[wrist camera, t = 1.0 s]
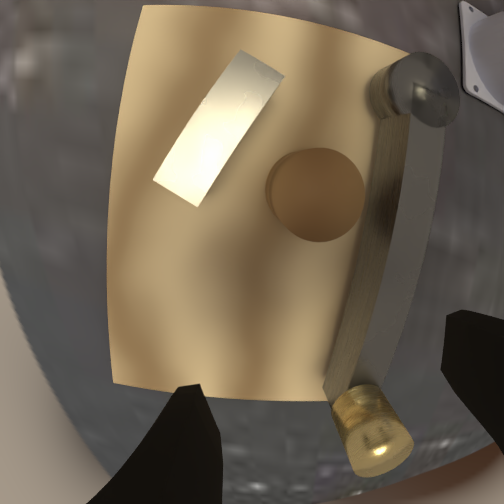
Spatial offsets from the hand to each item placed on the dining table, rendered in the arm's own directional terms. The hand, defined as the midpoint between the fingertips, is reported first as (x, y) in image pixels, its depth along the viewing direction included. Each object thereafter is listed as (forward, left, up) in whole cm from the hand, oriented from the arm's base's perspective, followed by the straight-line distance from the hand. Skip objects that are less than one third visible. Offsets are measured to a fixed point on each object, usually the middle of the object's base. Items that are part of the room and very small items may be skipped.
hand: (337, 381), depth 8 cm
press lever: (-5, -2, -8) cm, 10 cm away
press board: (0, -2, -10) cm, 11 cm away
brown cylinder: (-1, -4, -9) cm, 10 cm away
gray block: (+4, -7, -10) cm, 13 cm away
